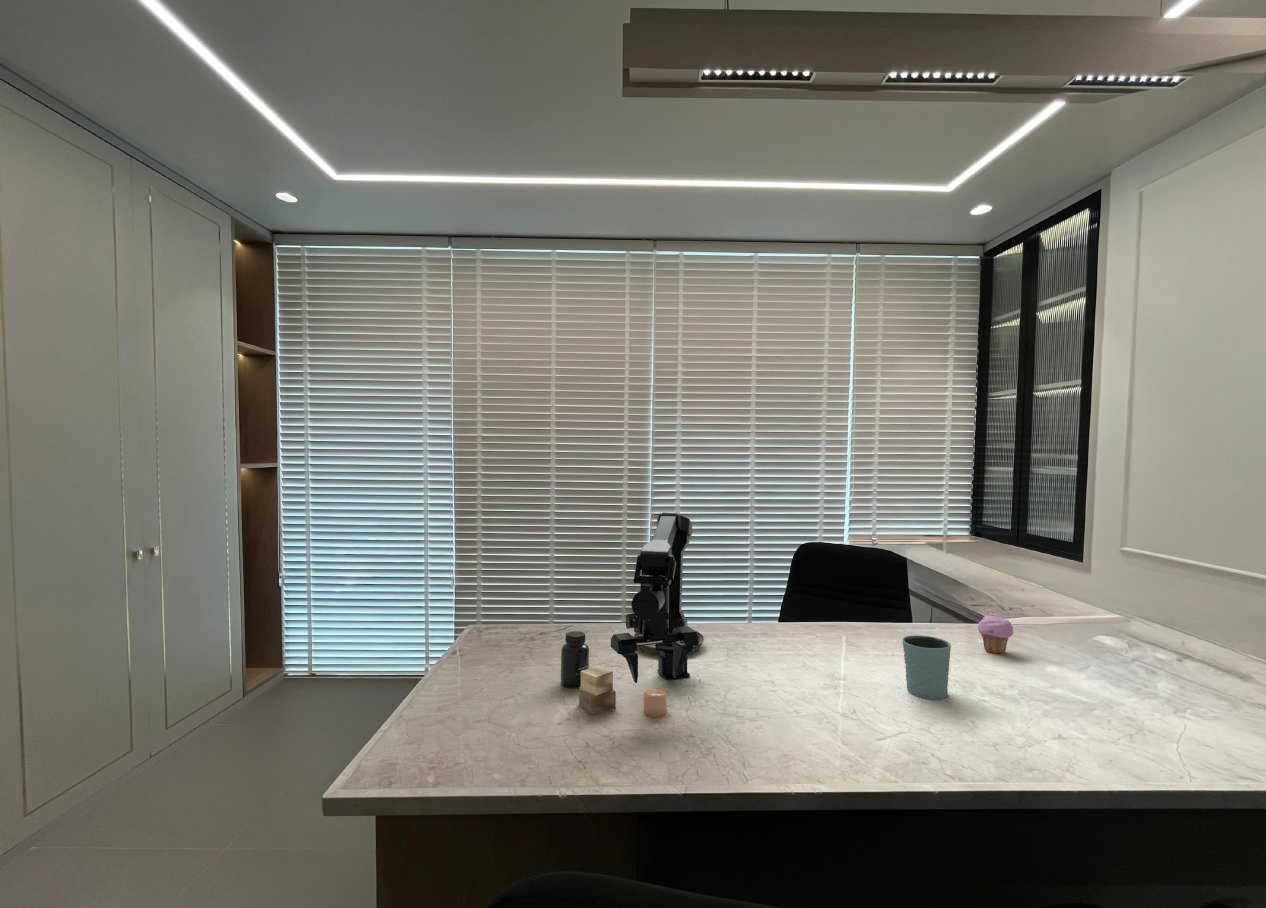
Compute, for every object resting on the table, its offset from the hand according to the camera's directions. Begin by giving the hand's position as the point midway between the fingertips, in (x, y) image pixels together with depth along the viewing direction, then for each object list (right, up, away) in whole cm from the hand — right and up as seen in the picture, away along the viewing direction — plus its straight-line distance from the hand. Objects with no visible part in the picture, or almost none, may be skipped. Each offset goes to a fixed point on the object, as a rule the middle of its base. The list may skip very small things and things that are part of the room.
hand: (655, 679), depth 128 cm
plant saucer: (+6, -8, +45) cm, 46 cm away
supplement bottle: (-19, -7, +16) cm, 26 cm away
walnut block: (-13, -7, +3) cm, 15 cm away
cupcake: (+99, -8, +41) cm, 107 cm away
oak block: (-13, -3, +3) cm, 13 cm away
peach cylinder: (0, -7, 0) cm, 7 cm away
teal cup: (+64, -8, +11) cm, 65 cm away
